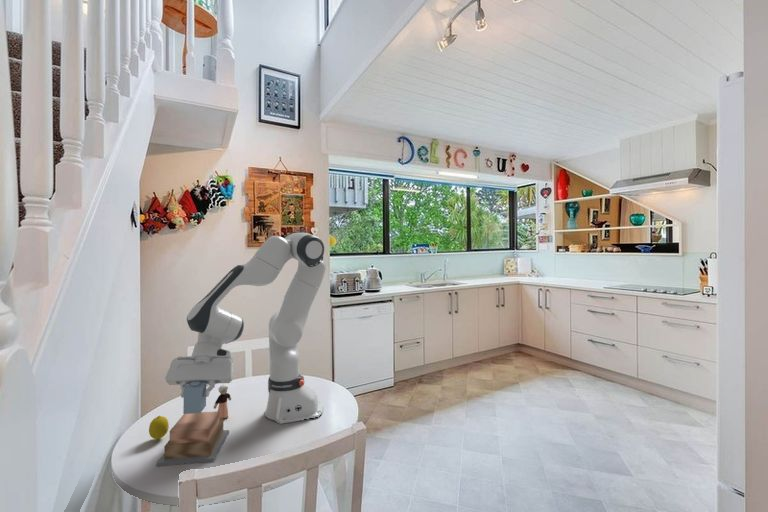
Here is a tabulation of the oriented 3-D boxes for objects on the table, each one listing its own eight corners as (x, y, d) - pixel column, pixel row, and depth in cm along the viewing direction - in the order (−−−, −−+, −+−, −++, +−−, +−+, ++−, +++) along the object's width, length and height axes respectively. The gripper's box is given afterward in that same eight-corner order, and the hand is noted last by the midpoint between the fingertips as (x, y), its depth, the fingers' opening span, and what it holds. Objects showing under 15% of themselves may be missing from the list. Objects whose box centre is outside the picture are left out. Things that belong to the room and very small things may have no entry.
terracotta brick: (223, 432, 117) (223, 409, 117) (210, 455, 104) (210, 430, 104) (182, 435, 115) (182, 412, 115) (164, 459, 102) (164, 433, 102)
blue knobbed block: (206, 405, 112) (206, 379, 112) (200, 413, 107) (201, 385, 107) (189, 406, 111) (190, 379, 111) (183, 413, 106) (183, 386, 106)
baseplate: (229, 432, 119) (229, 429, 119) (214, 461, 103) (214, 458, 103) (179, 436, 116) (179, 433, 116) (156, 466, 101) (156, 462, 101)
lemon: (146, 445, 111) (146, 421, 111) (152, 436, 116) (152, 413, 116) (165, 442, 112) (165, 419, 112) (170, 433, 118) (171, 411, 117)
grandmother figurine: (221, 423, 125) (221, 389, 125) (211, 422, 126) (212, 388, 125) (234, 413, 132) (234, 381, 132) (225, 412, 133) (225, 380, 133)
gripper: (170, 352, 114) (155, 393, 105) (235, 351, 117) (226, 391, 108) (176, 361, 119) (162, 401, 109) (238, 359, 122) (229, 398, 113)
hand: (194, 396), depth 109 cm, fingers closed on blue knobbed block, 5 cm apart
